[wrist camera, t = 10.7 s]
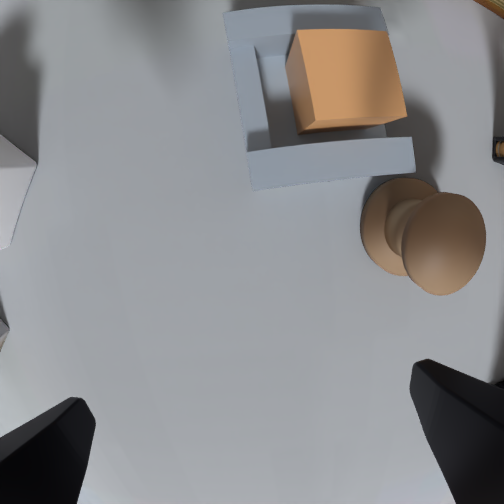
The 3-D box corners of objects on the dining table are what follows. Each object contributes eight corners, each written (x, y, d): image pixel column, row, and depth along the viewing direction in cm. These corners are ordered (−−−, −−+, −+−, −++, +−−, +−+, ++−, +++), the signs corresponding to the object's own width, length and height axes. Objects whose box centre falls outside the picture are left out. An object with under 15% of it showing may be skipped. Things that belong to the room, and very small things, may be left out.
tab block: (366, 129, 15) (407, 116, 11) (297, 135, 16) (315, 120, 11) (353, 63, 14) (386, 31, 10) (284, 67, 15) (296, 29, 10)
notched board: (384, 170, 17) (416, 172, 13) (252, 186, 17) (252, 191, 14) (357, 34, 15) (380, 7, 11) (228, 42, 15) (222, 12, 11)
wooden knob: (440, 262, 18) (487, 291, 13) (362, 278, 19) (398, 316, 13) (437, 174, 17) (491, 180, 12) (355, 182, 17) (395, 188, 12)
